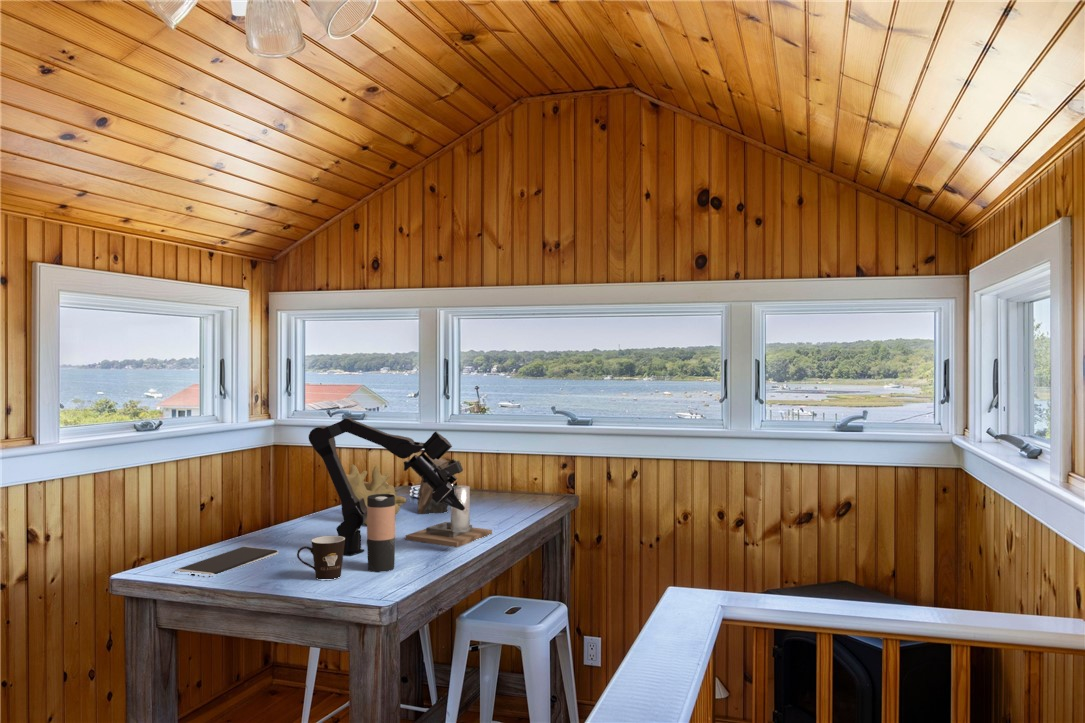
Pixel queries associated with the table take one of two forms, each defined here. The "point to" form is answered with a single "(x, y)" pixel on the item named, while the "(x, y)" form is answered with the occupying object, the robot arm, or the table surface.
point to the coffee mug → (326, 556)
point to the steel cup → (459, 517)
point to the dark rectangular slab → (228, 560)
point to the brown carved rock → (425, 494)
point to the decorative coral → (372, 486)
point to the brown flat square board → (447, 535)
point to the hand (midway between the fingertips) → (464, 507)
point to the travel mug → (381, 532)
